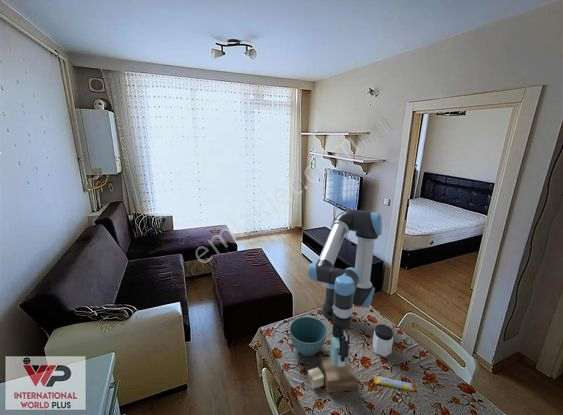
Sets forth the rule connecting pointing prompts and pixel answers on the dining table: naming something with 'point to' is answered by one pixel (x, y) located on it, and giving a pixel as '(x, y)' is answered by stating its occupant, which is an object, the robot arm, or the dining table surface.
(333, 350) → the teal block
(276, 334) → the dining table surface
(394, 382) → the candy bar
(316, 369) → the cream cube
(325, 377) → the walnut block
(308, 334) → the plant pot
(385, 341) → the jar
